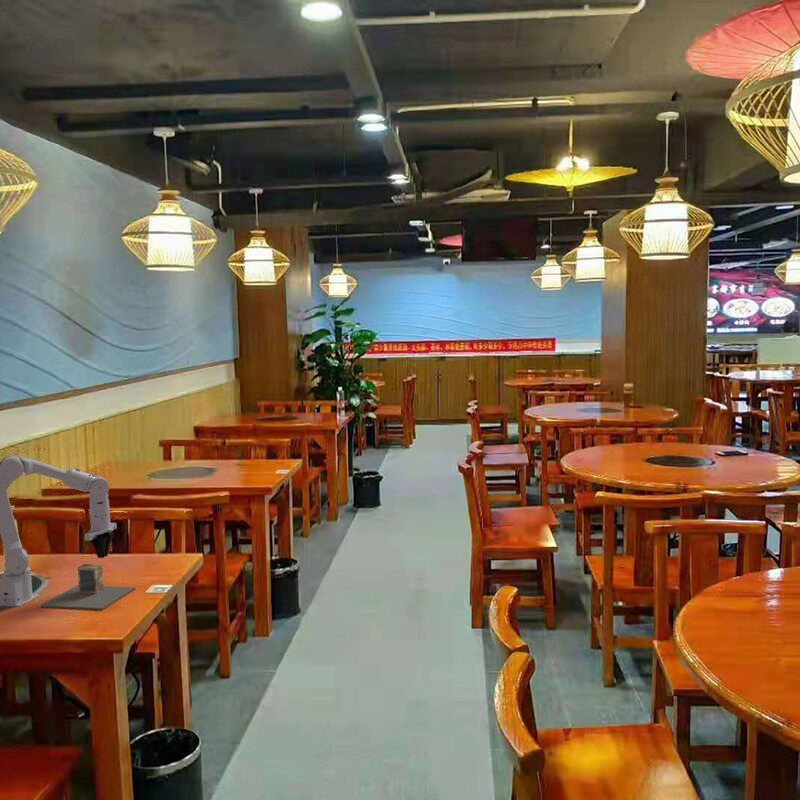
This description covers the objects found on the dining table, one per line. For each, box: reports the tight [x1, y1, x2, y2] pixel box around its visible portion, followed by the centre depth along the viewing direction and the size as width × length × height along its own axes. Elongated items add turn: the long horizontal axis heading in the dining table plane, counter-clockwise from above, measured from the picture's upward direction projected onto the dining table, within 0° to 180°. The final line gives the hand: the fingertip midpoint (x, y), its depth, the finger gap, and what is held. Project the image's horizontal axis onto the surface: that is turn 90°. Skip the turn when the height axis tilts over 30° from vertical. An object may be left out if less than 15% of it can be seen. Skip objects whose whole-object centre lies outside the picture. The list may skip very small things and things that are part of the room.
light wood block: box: [77, 563, 104, 594], centre depth 233 cm, size 4×6×8 cm, turn 78°
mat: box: [40, 584, 136, 611], centre depth 229 cm, size 18×20×1 cm
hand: (102, 556), depth 239 cm, fingers closed
